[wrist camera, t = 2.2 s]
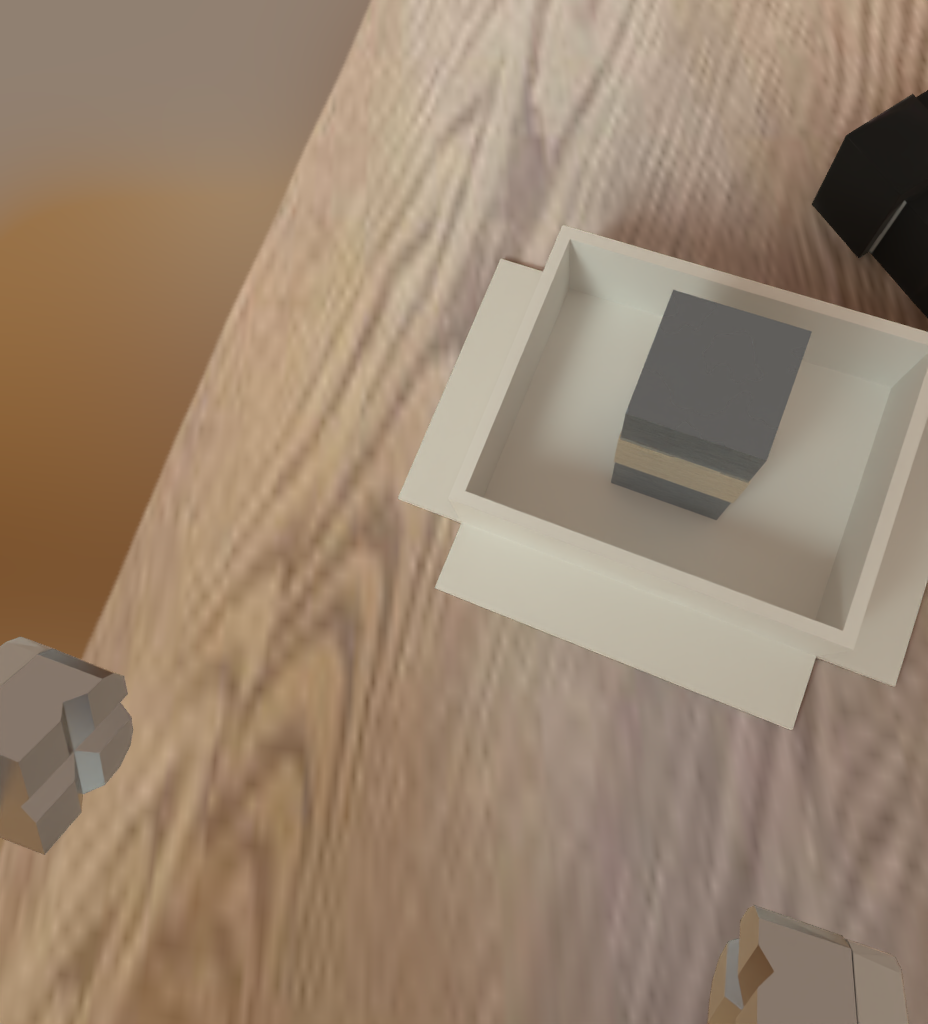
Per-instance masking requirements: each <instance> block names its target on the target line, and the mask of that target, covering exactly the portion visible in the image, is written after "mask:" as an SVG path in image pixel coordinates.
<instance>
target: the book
mask: <svg viewBox="0 0 928 1024" xmlns="http://www.w3.org/2000/svg"><path fill="white" fill-rule="evenodd" d="M812 205H813V206H814V207H815V208H816V209H817V211H818V212H819V213H820V214H821V215H822V216H823V218H824V219H825V220H826V221H827V222H828V223H829V225H830V226H831V227H832V228H833V229H834V230H835V231H836V233H837V234H838V235H839V236H840V237H841V238H842V240H843V241H844V242H845V243H846V244H847V245H848V246H849V248H850V249H851V250H852V251H853V252H854V253H855V255H856V256H857V257H858V258H860V257H861V256H863V255H865V254H866V253H868V252H870V253H871V254H872V255H873V256H874V257H875V259H876V260H877V261H878V262H879V263H880V264H881V265H882V267H883V268H884V269H885V270H886V271H887V272H888V273H889V275H890V276H891V277H892V278H893V279H894V280H895V281H896V283H897V284H898V285H899V286H900V287H901V288H902V290H903V291H904V292H905V293H906V294H907V295H908V296H909V298H910V299H911V300H912V301H913V302H914V303H915V304H916V306H917V307H918V308H919V309H920V310H921V311H922V312H923V314H924V315H925V316H926V317H927V318H928V90H927V91H926V92H924V93H923V94H921V95H919V96H918V97H915V96H914V95H913V94H912V95H910V96H909V97H907V98H906V99H904V100H902V101H901V102H899V103H898V104H896V105H894V106H893V107H891V108H889V109H888V110H886V111H885V112H883V113H881V114H880V115H878V116H877V117H875V118H873V119H872V120H870V121H869V122H867V123H865V124H864V125H862V126H860V127H859V128H857V129H856V130H854V131H852V132H851V133H849V134H848V135H846V137H845V139H844V141H843V143H842V145H841V147H840V149H839V151H838V153H837V155H836V157H835V159H834V161H833V163H832V165H831V167H830V169H829V171H828V173H827V175H826V177H825V179H824V181H823V183H822V185H821V187H820V189H819V191H818V193H817V195H816V197H815V199H814V201H813V203H812Z"/></svg>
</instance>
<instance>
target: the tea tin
mask: <svg viewBox="0 0 928 1024" xmlns="http://www.w3.org/2000/svg"><path fill="white" fill-rule="evenodd" d="M811 333H812V331H809V330H805V329H802V328H799V327H795V326H792V325H789V324H785V323H782V322H779V321H775V320H772V319H769V318H765V317H762V316H759V315H756V314H752V313H749V312H746V311H742V310H739V309H736V308H732V307H729V306H726V305H722V304H719V303H716V302H712V301H709V300H706V299H703V298H699V297H696V296H693V295H689V294H686V293H683V292H679V291H676V290H673V292H672V294H671V297H670V299H669V302H668V304H667V307H666V310H665V312H664V315H663V317H662V320H661V323H660V325H659V328H658V330H657V333H656V336H655V338H654V341H653V343H652V346H651V348H650V351H649V354H648V356H647V359H646V361H645V364H644V367H643V369H642V372H641V374H640V377H639V380H638V382H637V385H636V387H635V390H634V392H633V395H632V398H631V400H630V403H629V405H628V408H627V411H626V413H625V418H624V423H623V427H622V431H621V433H620V436H619V438H618V443H617V448H616V453H615V458H614V462H615V465H614V470H613V475H612V479H611V483H613V484H616V485H618V486H621V487H624V488H627V489H630V490H632V491H635V492H638V493H641V494H644V495H647V496H649V497H652V498H655V499H658V500H661V501H663V502H666V503H669V504H672V505H675V506H678V507H680V508H683V509H686V510H689V511H692V512H694V513H697V514H700V515H703V516H706V517H709V518H711V519H714V520H717V519H718V518H719V517H720V515H721V514H722V513H723V512H724V511H725V510H726V508H727V507H728V506H729V505H730V504H731V503H734V502H735V501H736V499H737V498H738V497H739V496H740V495H741V494H742V492H743V491H744V490H745V489H746V488H747V487H748V485H749V484H750V482H751V479H752V478H753V476H754V475H755V474H756V473H757V472H758V470H759V469H760V468H761V467H762V466H763V465H764V463H765V462H766V461H767V459H768V456H769V453H770V450H771V447H772V444H773V441H774V439H775V436H776V433H777V430H778V427H779V424H780V421H781V419H782V416H783V413H784V410H785V407H786V404H787V401H788V399H789V396H790V393H791V390H792V387H793V384H794V382H795V379H796V376H797V373H798V370H799V367H800V364H801V362H802V359H803V356H804V353H805V350H806V347H807V344H808V342H809V339H810V336H811Z"/></svg>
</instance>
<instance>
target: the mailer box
mask: <svg viewBox="0 0 928 1024" xmlns="http://www.w3.org/2000/svg"><path fill="white" fill-rule="evenodd" d="M673 290H676V291H679V292H683V293H686V294H689V295H693V296H696V297H699V298H703V299H706V300H709V301H712V302H716V303H719V304H722V305H726V306H729V307H732V308H736V309H739V310H742V311H746V312H749V313H752V314H756V315H759V316H762V317H765V318H769V319H772V320H775V321H779V322H782V323H785V324H789V325H792V326H795V327H799V328H802V329H805V330H809V331H812V333H811V336H810V339H809V342H808V344H807V347H806V350H805V353H804V356H803V359H802V362H801V364H800V367H799V370H798V373H797V376H796V379H795V382H794V384H793V387H792V390H791V393H790V396H789V399H788V401H787V404H786V407H785V410H784V413H783V416H782V419H781V421H780V424H779V427H778V430H777V433H776V436H775V439H774V441H773V444H772V447H771V450H770V453H769V456H768V459H767V461H766V462H765V463H764V465H763V466H762V467H761V468H760V469H759V470H758V472H757V473H756V474H755V475H754V476H753V478H752V479H751V482H750V484H749V485H748V487H747V488H746V489H745V490H744V491H743V492H742V494H741V495H740V496H739V497H738V498H737V499H736V501H735V502H734V503H731V504H730V505H729V506H728V507H727V508H726V510H725V511H724V512H723V513H722V514H721V515H720V517H719V518H718V519H717V520H714V519H711V518H709V517H706V516H703V515H700V514H697V513H694V512H692V511H689V510H686V509H683V508H680V507H678V506H675V505H672V504H669V503H666V502H663V501H661V500H658V499H655V498H652V497H649V496H647V495H644V494H641V493H638V492H635V491H632V490H630V489H627V488H624V487H621V486H618V485H616V484H613V483H611V479H612V475H613V470H614V465H615V462H614V458H615V453H616V448H617V443H618V438H619V436H620V433H621V431H622V427H623V423H624V418H625V413H626V411H627V408H628V405H629V403H630V400H631V398H632V395H633V392H634V390H635V387H636V385H637V382H638V380H639V377H640V374H641V372H642V369H643V367H644V364H645V361H646V359H647V356H648V354H649V351H650V348H651V346H652V343H653V341H654V338H655V336H656V333H657V330H658V328H659V325H660V323H661V320H662V317H663V315H664V312H665V310H666V307H667V304H668V302H669V299H670V297H671V294H672V292H673ZM398 499H399V500H401V501H404V502H407V503H409V504H412V505H414V506H417V507H420V508H422V509H425V510H428V511H430V512H433V513H436V514H438V515H441V516H443V517H446V518H449V519H451V520H454V521H457V522H459V523H461V525H460V528H459V530H458V532H457V535H456V537H455V540H454V542H453V545H452V547H451V549H450V552H449V554H448V557H447V559H446V562H445V564H444V566H443V569H442V571H441V574H440V576H439V578H438V581H437V583H436V586H435V589H437V590H440V591H443V592H445V593H448V594H450V595H453V596H455V597H458V598H460V599H463V600H465V601H468V602H470V603H473V604H475V605H478V606H480V607H483V608H485V609H488V610H490V611H493V612H495V613H498V614H500V615H503V616H505V617H508V618H510V619H513V620H515V621H518V622H520V623H523V624H525V625H528V626H530V627H533V628H535V629H538V630H540V631H543V632H545V633H548V634H550V635H553V636H555V637H558V638H560V639H563V640H565V641H568V642H570V643H573V644H575V645H578V646H580V647H583V648H586V649H588V650H591V651H593V652H596V653H598V654H601V655H603V656H606V657H608V658H611V659H613V660H616V661H618V662H621V663H623V664H626V665H628V666H631V667H633V668H636V669H638V670H641V671H643V672H646V673H648V674H651V675H653V676H656V677H658V678H661V679H663V680H666V681H668V682H671V683H673V684H676V685H678V686H681V687H683V688H686V689H688V690H691V691H693V692H696V693H698V694H701V695H703V696H706V697H708V698H711V699H713V700H716V701H718V702H721V703H723V704H726V705H729V706H731V707H734V708H736V709H739V710H741V711H744V712H746V713H749V714H751V715H754V716H756V717H759V718H761V719H764V720H766V721H769V722H771V723H774V724H776V725H779V726H781V727H784V728H786V729H789V730H793V727H794V724H795V720H796V717H797V714H798V711H799V708H800V705H801V702H802V699H803V696H804V693H805V690H806V687H807V684H808V681H809V677H810V674H811V671H812V668H813V665H814V662H815V659H816V658H818V659H821V660H823V661H826V662H829V663H831V664H834V665H837V666H839V667H842V668H845V669H847V670H850V671H852V672H855V673H858V674H860V675H863V676H866V677H868V678H871V679H874V680H876V681H879V682H881V683H884V684H887V685H889V686H892V687H893V686H895V685H896V682H897V679H898V676H899V672H900V669H901V666H902V663H903V659H904V656H905V653H906V650H907V646H908V643H909V640H910V636H911V633H912V630H913V627H914V623H915V620H916V617H917V614H918V610H919V607H920V604H921V601H922V597H923V594H924V591H925V588H926V584H927V581H928V332H926V331H923V330H919V329H916V328H913V327H909V326H906V325H902V324H899V323H896V322H892V321H889V320H885V319H882V318H879V317H875V316H872V315H868V314H865V313H862V312H858V311H855V310H851V309H848V308H845V307H841V306H838V305H834V304H831V303H828V302H824V301H821V300H817V299H814V298H811V297H807V296H804V295H800V294H797V293H794V292H790V291H787V290H783V289H780V288H776V287H773V286H770V285H766V284H763V283H759V282H756V281H753V280H749V279H746V278H742V277H739V276H736V275H732V274H729V273H725V272H722V271H719V270H715V269H712V268H708V267H705V266H702V265H698V264H695V263H691V262H688V261H685V260H681V259H678V258H674V257H671V256H668V255H664V254H661V253H657V252H654V251H651V250H647V249H644V248H640V247H637V246H634V245H630V244H627V243H623V242H620V241H616V240H613V239H610V238H606V237H603V236H599V235H596V234H593V233H589V232H586V231H582V230H579V229H576V228H572V227H569V226H565V225H562V227H561V230H560V232H559V234H558V237H557V239H556V242H555V244H554V246H553V249H552V251H551V253H550V256H549V258H548V261H547V263H546V265H545V268H544V270H543V271H540V270H536V269H533V268H530V267H527V266H523V265H520V264H517V263H514V262H510V261H507V260H504V259H500V261H499V264H498V266H497V268H496V271H495V273H494V275H493V278H492V280H491V282H490V285H489V287H488V289H487V292H486V294H485V296H484V299H483V301H482V303H481V306H480V308H479V310H478V313H477V315H476V317H475V320H474V322H473V324H472V327H471V329H470V331H469V334H468V336H467V338H466V341H465V343H464V345H463V348H462V350H461V352H460V355H459V357H458V359H457V362H456V364H455V366H454V369H453V371H452V373H451V376H450V378H449V380H448V383H447V385H446V387H445V390H444V392H443V394H442V396H441V399H440V401H439V403H438V406H437V408H436V410H435V413H434V415H433V417H432V420H431V422H430V424H429V427H428V429H427V431H426V434H425V436H424V438H423V441H422V443H421V445H420V448H419V450H418V452H417V455H416V457H415V459H414V462H413V464H412V466H411V469H410V471H409V473H408V476H407V478H406V480H405V483H404V485H403V487H402V490H401V492H400V494H399V497H398Z"/></svg>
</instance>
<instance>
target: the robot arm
mask: <svg viewBox="0 0 928 1024" xmlns="http://www.w3.org/2000/svg"><path fill="white" fill-rule="evenodd" d="M127 694H128V692H127V687H126V683H125V678H124V676H123V675H120V674H117V673H115V672H112V671H110V670H107V669H104V668H102V667H99V666H97V665H94V664H91V663H89V662H86V661H84V660H81V659H78V658H76V657H73V656H71V655H68V654H65V653H63V652H60V651H57V650H56V649H53V648H51V647H48V646H45V645H42V644H40V643H37V642H34V641H31V640H29V639H26V638H23V637H18V638H16V639H13V640H10V641H7V642H5V643H4V644H3V645H1V646H0V838H2V839H5V840H8V841H10V842H13V843H15V844H18V845H20V846H23V847H26V848H28V849H31V850H33V851H36V852H39V853H41V854H44V855H45V854H46V853H47V852H48V850H49V849H50V848H51V847H52V846H53V845H54V843H55V842H56V841H57V840H58V839H59V838H60V836H61V835H62V834H63V833H64V832H65V831H66V830H67V828H68V827H69V826H70V825H71V824H72V823H73V821H74V820H75V819H76V818H77V817H78V816H79V815H80V813H81V812H82V801H83V794H85V793H87V792H90V791H92V790H94V789H96V788H99V787H101V786H103V785H105V784H106V783H107V782H108V781H109V779H110V778H111V777H112V776H113V775H114V773H115V772H116V771H117V770H118V768H119V767H120V766H121V764H122V761H123V759H124V757H125V755H126V753H127V751H128V749H129V747H130V745H131V739H132V733H133V726H132V718H131V716H130V715H129V713H128V712H127V711H126V709H125V708H124V707H123V705H122V704H121V703H120V702H121V701H122V700H123V698H124V697H125V696H126V695H127ZM707 1024H909V1021H908V1014H907V1006H906V999H905V992H904V984H903V977H902V969H901V967H900V965H899V963H898V961H897V959H896V958H895V957H894V956H892V955H891V954H889V953H886V952H883V951H880V950H877V949H874V948H871V947H868V946H865V945H862V944H859V943H857V942H854V941H851V940H848V939H845V938H844V937H843V936H842V935H839V934H836V933H833V932H830V931H827V930H824V929H822V928H819V927H816V926H813V925H810V924H807V923H804V922H801V921H799V920H796V919H793V918H790V917H787V916H784V915H781V914H778V913H776V912H773V911H770V910H767V909H764V908H761V907H758V906H755V905H754V906H752V907H750V908H748V909H747V911H746V912H745V914H744V915H743V917H742V919H741V920H740V937H739V938H738V939H735V940H731V941H728V942H727V944H726V946H725V948H724V950H723V951H722V953H721V955H720V957H719V960H718V963H717V967H716V970H715V973H714V977H713V980H712V986H711V992H710V999H709V1010H708V1022H707Z"/></svg>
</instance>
